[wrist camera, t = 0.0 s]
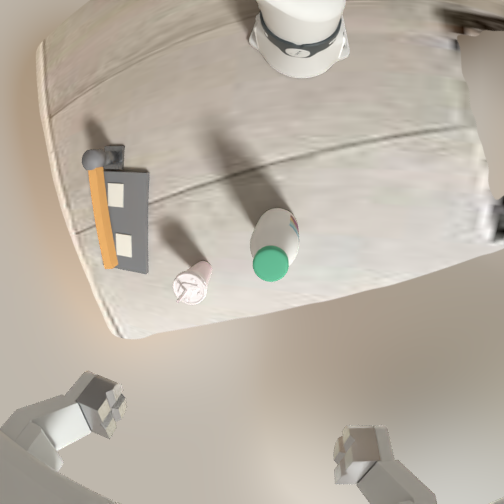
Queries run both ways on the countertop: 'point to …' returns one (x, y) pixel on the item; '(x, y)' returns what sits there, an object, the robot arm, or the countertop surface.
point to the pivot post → (114, 157)
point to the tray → (129, 217)
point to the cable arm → (100, 204)
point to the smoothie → (192, 283)
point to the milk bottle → (274, 244)
